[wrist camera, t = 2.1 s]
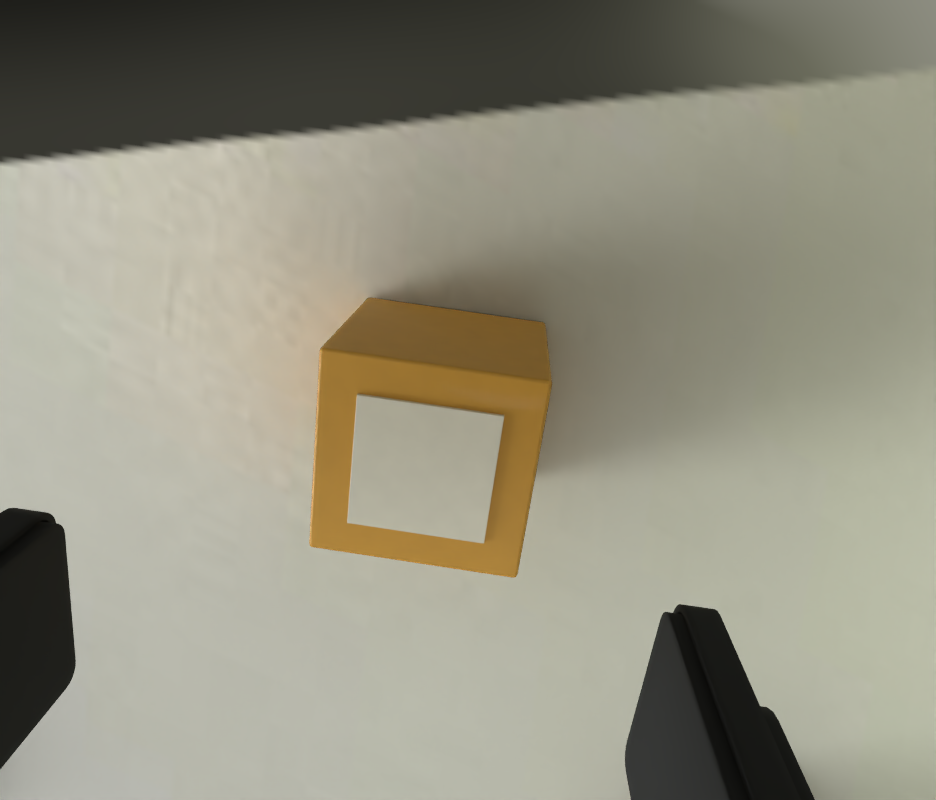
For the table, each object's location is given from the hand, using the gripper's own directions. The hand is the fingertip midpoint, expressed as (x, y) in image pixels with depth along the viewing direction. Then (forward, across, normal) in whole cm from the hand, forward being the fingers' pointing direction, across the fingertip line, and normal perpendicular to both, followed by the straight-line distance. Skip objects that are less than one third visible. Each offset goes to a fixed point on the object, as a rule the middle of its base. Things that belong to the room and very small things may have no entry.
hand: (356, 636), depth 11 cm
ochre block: (+10, 0, 0) cm, 10 cm away
